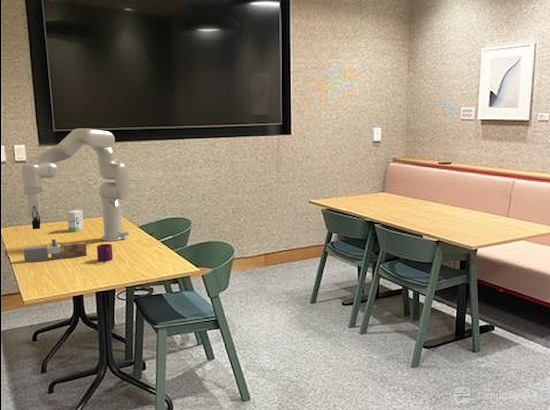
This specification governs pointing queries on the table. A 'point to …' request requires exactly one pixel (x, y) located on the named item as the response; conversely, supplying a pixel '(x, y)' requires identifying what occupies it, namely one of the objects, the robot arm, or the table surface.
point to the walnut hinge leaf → (70, 250)
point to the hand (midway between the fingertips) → (36, 226)
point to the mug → (104, 252)
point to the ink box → (75, 220)
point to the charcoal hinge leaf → (40, 252)
